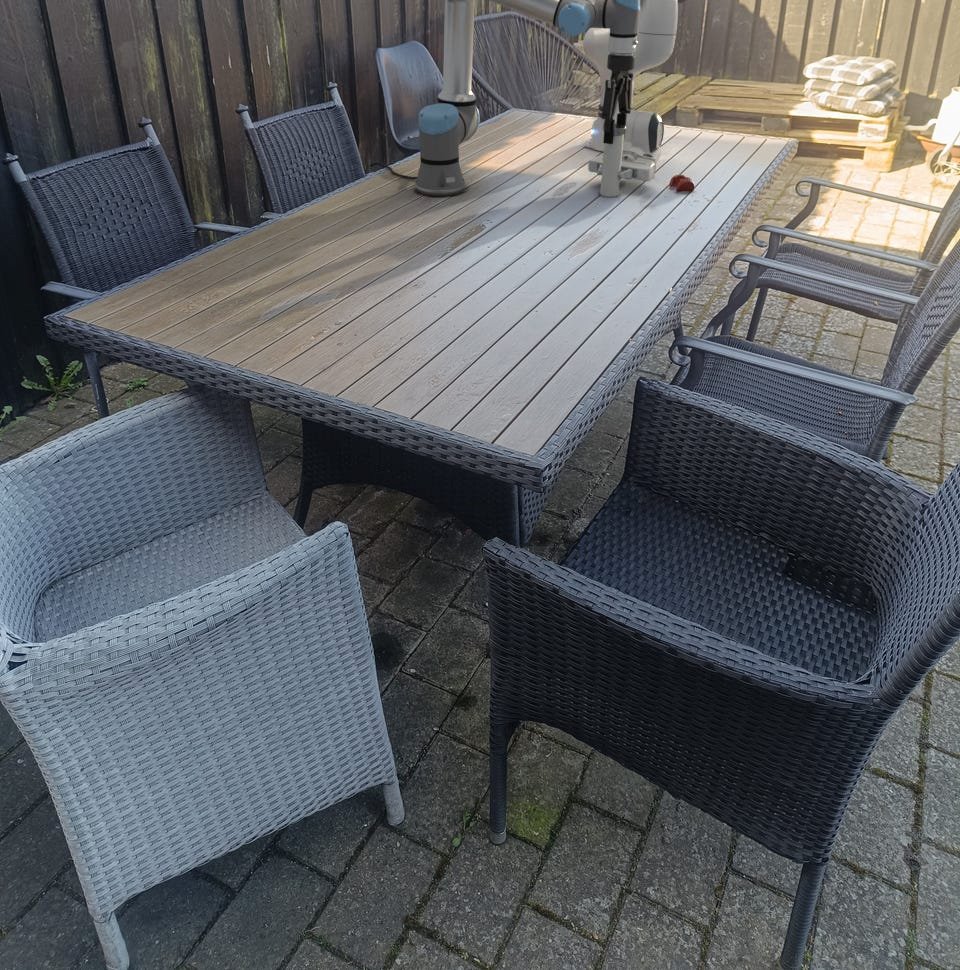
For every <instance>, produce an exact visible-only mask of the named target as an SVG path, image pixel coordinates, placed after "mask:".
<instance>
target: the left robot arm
mask: <svg viewBox="0 0 960 970" xmlns="http://www.w3.org/2000/svg"><path fill="white" fill-rule="evenodd" d="M488 1H489V2H492V3H494V4H497V5H499V6H502V7H505V8H507V9H510V10H512V11H515V12H518V13H520V14H522V15H525V16H527V17H530V18H533V19H535V20H538V21H541V22H543V23H545V24H548V25H551V26H554V27H556V28H558V29H560V30H561V31H562V33H564V34H565V35H566V36H569V37H576V36H580V35H581V34H584V33H585V32H587V31H588V30H589V29H590V28H605V29H607V28H609V29H610V36H609V46H608V51H609V52H610V54H609V55H608V61H607V68H608V69H609V70H611V71H612V74H611V78H610V80H606V82H605V95H604V103H603V110H602V119H605V128H604V141H603V143H606V144H613V137H614V126H615V120H613V119H614V115H615V110H616V106H617V102H618V105H619V113H618V114H617V123H616V124H622V125H625V126H626V119H627V114H630V112H631V110H630V109H631V96H632V80H633V73H629V71H630V70H633V69H634V64H635V55H634V54H633V53H634V52H635V51H636V45H637V44H638V42H637V31H638V22H639V13H640V0H488ZM475 3H476V0H444V14H443V15H444V21H443V22H444V23H443V28H444V29H443V65H442V66H443V68H442V69H443V72H442V90H441V91H440V92H439V93H438V94H437V103H433V104H429V105H426V106H424V107H422V109H420V111H419V113H418V122H417V124H418V136H419V138H418V139H419V157H420V158H419V159H420V161H419V162H420V164H419V168H418V172H417V176H409V175H404V174H400V173H398V172H395V171H394V170H393V168H392V167H391V166H389V165H387V164H384V163H382V162H378V161H375V162H372V163H371V164H369V167H374V166H375V165H376V166H381V167H383V168H386V169H388V170H390V173H391V174H392V175H394V176H395V177H400V178H403V179H407V180H408V179H409V180H415V183H414V184H415V185H414V186H415V192H417V193H418V194H420V195H424V196H430V197H450V196H455V195H459V194H461V193H463V192H464V191H466V181H465V179H464V176H463V172H462V169H461V165H460V145H462V144H463V143H465V142H467V141H469V140H470V139H471V138H472V137H473V136H474V135H475V134H476V132H477V131H478V129H479V126H480V122H481V115H480V112H479V111H480V110H479V109H478V108H477V106H476V105H477V97H476V95H475V94H474V93H473V91H472V81H473V80H472V79H473V55H474V54H473V53H474V31H475V29H474V27H475ZM633 81H634V80H633ZM626 113H627V114H626ZM624 138H625V134H624Z"/></svg>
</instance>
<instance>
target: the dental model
mask: <svg viewBox="0 0 960 970" xmlns="http://www.w3.org/2000/svg"><path fill="white" fill-rule="evenodd" d="M668 186H669V188H675V192H676V193H689V192H694V190H695V184H694V182H693V180H692V178H690V177H687V176H685V175H684V174H676V175H674V176H672V177H671V178H670V180H669V185H668Z"/></svg>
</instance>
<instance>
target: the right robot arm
mask: <svg viewBox="0 0 960 970" xmlns="http://www.w3.org/2000/svg"><path fill="white" fill-rule="evenodd" d="M686 1H687V0H640V13H639V22H638V31H637V42H638V44H637V45H636V51H635V52H634V53H633V54H634V55H635V64H634V69H633V70H630V71H629V73H633V80H632V96H631V109H630V110H631V112H630V114H627V113H626V114H627V119H626V132H625V138H624V141H623V151H622V162H621V171H620V172H619V173H618V175H619V176H618V178H620V180H637V181H642V182H649V181H651V180H653V179H655V175H656V168H657V163H658V161H659V159H660V157H661V154H662V150H661V149H662V148H661V145H662V143H663V139H664V134H665V126H664V123H663V120H662V118H661V116H660V115H659V113H657V112H653V111H646V110H636V109H634V104H633V100H634V90H635V82H634V80H635V78H636V77H637V76H638V75H639V74H640V73H643V72H644V71H647V70H650V69H654V68H656V67H659V66H661V65H662V64H664V63H665V62H666V61H668V59H669V58H670V57H671V56H672V54H673V51H674V48H675V44H676V39H677V38H676V37H677V29H678V22H679V19H678V18H679V4H683V3H685V2H686ZM609 36H610V29H609V28H607V29H605V28H590V29H588V30H586V33H585V34H584V37H583V42H582V43H583V44H582V47H583V52H584V54H585V56H586V57H587V59H588V60H590V61H591V63H593V65H594V66H595V67H596V70H597V72H598V74H599V78H600V101H599V104H598V108H597V118H596V119H595V120H594V121H593V123H592V125H591V133H590V134H591V138H590V139H589V140H588V141H587V142H586V143H585V147H586V148H588V149H592V150H596V151H597V152H603V153H604V143H603V141H604V127H605V119H602V110H603V103H604V95H605V82H606V80H610V78H611V74H612V71H611V70H609V69H608V68H607V61H608V55H609V54H610V52H609V51H608V46H609ZM618 113H619V105H618V102H617V106H616V110H615V115H614V119H613V120H615V124H616V123H617V114H618ZM602 166H603V155H597V156H594V157H591V158H589V160H588V163H587V170H588V171H589V172H590V173H596V175H597V176H602Z"/></svg>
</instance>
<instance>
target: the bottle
mask: <svg viewBox="0 0 960 970" xmlns="http://www.w3.org/2000/svg"><path fill="white" fill-rule="evenodd" d="M623 141H624V134H622V135H614V137H613V144H606V143H604V152H603V155H602V156H603V166H602V175H601V179H600V193H599V195H600V196H602V197H607V198H614V197H615V198H616V197H618V196H619V193H620V191H619V190H620V184H621V183H620V182H621V179H620V178H618V176H619V175H618V173H619V172H620V171H621V162H622V151H623Z"/></svg>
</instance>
